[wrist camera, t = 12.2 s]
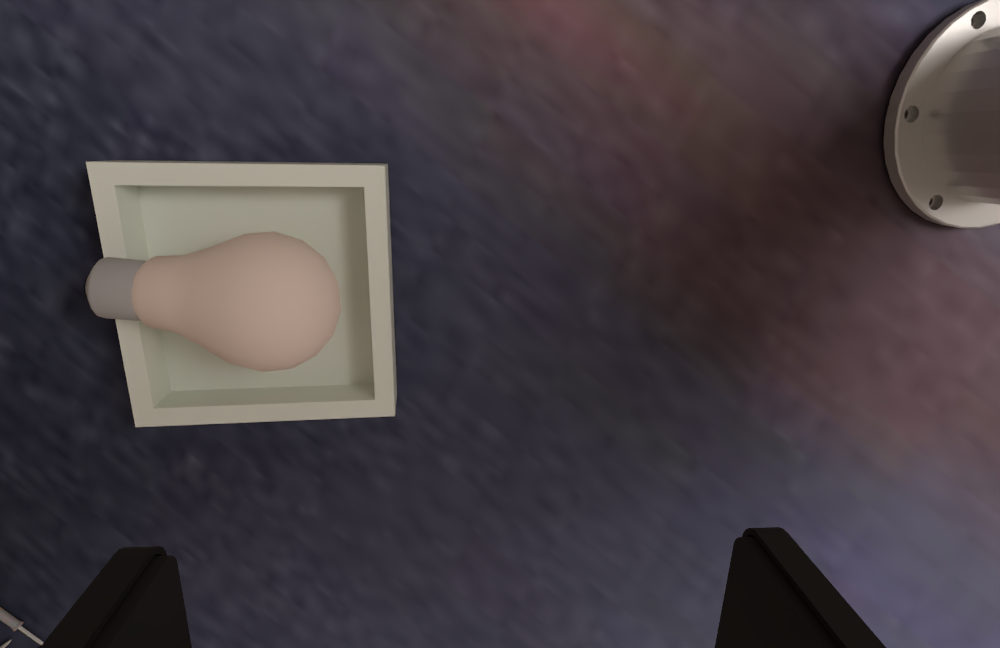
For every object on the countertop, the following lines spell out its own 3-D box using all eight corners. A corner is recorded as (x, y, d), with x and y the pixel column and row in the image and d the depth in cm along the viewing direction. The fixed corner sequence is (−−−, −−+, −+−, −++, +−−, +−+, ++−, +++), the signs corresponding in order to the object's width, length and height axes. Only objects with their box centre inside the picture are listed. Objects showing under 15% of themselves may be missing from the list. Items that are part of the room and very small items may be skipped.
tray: (388, 163, 30) (384, 165, 27) (397, 393, 34) (394, 416, 31) (119, 160, 28) (85, 161, 26) (160, 402, 32) (135, 427, 29)
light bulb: (36, 370, 23) (326, 389, 24) (45, 201, 22) (339, 233, 24) (119, 350, 29) (343, 366, 31) (127, 219, 29) (353, 243, 31)
